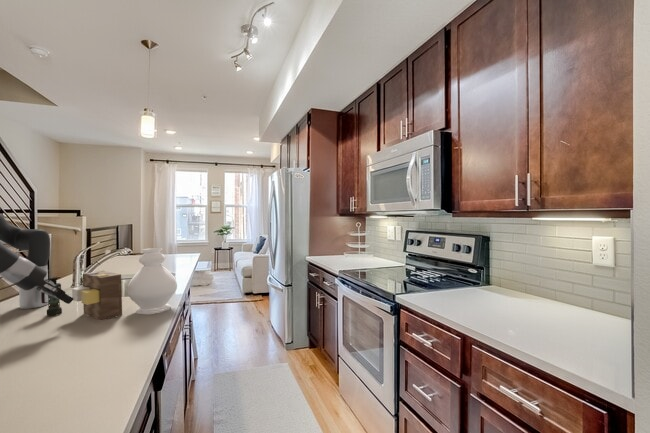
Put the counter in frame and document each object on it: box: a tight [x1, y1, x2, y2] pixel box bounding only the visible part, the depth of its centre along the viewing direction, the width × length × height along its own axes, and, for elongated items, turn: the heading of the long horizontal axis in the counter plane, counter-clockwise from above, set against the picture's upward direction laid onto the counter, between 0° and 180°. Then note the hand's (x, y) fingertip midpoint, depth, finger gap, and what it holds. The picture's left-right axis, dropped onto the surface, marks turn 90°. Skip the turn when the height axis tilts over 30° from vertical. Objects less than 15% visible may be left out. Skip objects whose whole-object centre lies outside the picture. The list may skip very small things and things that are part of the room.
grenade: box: [41, 276, 63, 317], centre depth 122 cm, size 6×6×15 cm
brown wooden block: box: [82, 270, 123, 322], centre depth 122 cm, size 15×7×16 cm, turn 58°
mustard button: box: [81, 289, 100, 305], centre depth 116 cm, size 4×6×4 cm
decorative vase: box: [127, 247, 178, 315], centre depth 128 cm, size 18×18×25 cm
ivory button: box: [71, 286, 90, 303], centre depth 120 cm, size 4×6×4 cm
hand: (70, 301), depth 110 cm, fingers closed
